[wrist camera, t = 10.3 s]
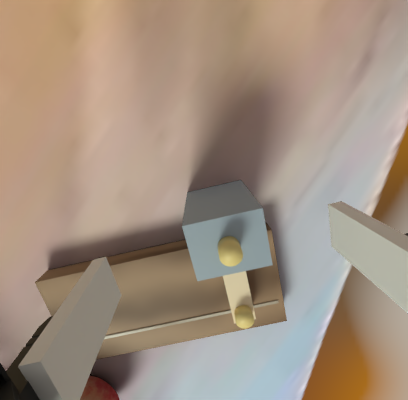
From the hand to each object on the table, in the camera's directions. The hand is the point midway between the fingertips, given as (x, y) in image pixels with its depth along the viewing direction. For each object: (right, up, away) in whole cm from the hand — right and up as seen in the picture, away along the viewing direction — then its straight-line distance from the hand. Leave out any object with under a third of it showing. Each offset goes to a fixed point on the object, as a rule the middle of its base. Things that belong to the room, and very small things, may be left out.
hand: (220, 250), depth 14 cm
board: (-5, -6, +11) cm, 14 cm away
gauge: (+1, -1, +10) cm, 10 cm away
